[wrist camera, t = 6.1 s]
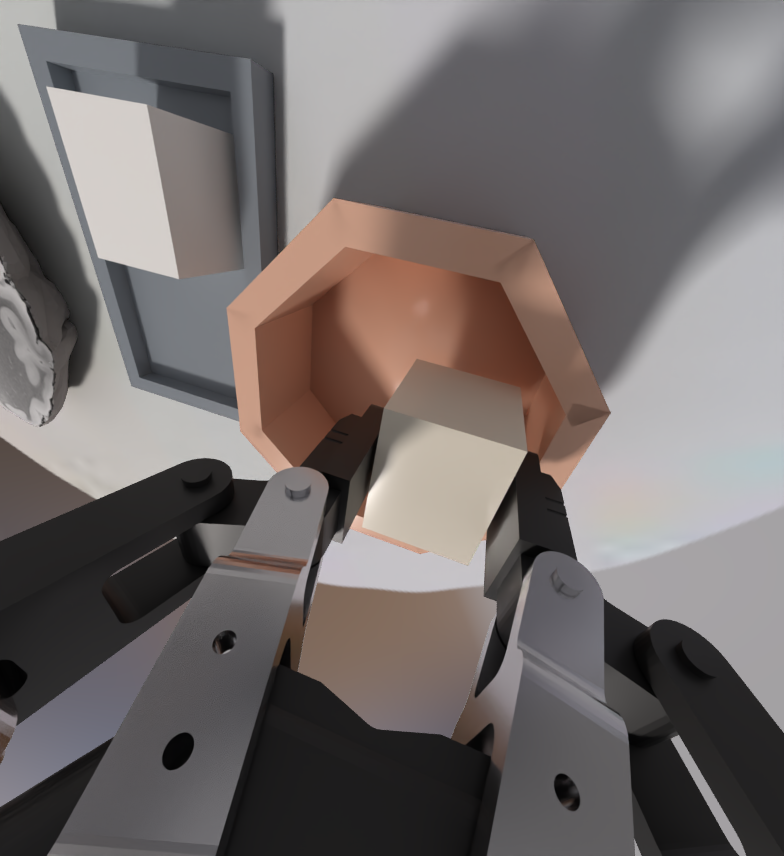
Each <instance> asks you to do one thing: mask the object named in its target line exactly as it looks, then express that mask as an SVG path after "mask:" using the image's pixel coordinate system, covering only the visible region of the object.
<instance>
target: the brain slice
mask: <svg viewBox="0 0 784 856" xmlns="http://www.w3.org/2000/svg"><path fill="white" fill-rule="evenodd" d="M69 315H70V312H69V309H68V307H67V304H66V302H65V300H64V298H63V296H62V295H61V293H60V292H59V291H58V289H57V288H56V286H55V285H54V283H52V282H51V281H49V280H48V279H46V278H45V277H44V274H43V272H42V270H41V268H40V265H39V263H38V262H37V260H36V259H35V257H34V256H33V254H32V253H31V251H30V250H29V248H28V245H27V244H26V243H25V241H24V240H23V239H22V237H21V235H20V233H19V232H18V230H17V228H16V226H15V225H14V224H13V223H12V222H10V221H9V219H8V217H7V216H6V214H5V212H4V210H3V208H2V206H1V203H0V406H2V407H3V408H4V409H6V410H8V411H9V412H11V413H12V414H14V415H16V416H17V417H19V418H20V419H22V420H24V421H25V422H27V423H29V424H31V425H34V426H36V427H41V426H43V425H45V424H48V423H49V422H51V421H52V420H53V419H54V418H55V417H56V415H57V414H58V413H59V411H60V410H61V408H62V407H63V404H64V401H65V399H66V395H67V391H68V386H67V385H68V378H69V375H68V365H69V356H70V354H71V352H72V350H73V347H74V345H75V343H76V341H77V334H78V333H77V330H76V328H75V326H74V325H73V324H72V323H71V322H70V321H68V320H66V319H67V318H69Z"/></svg>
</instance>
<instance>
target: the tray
mask: <svg viewBox="0 0 784 856" xmlns="http://www.w3.org/2000/svg"><path fill="white" fill-rule="evenodd" d="M18 27H19V31H20V34H21V37H22V40H23V43H24V46H25V50H26V53H27V56H28V59H29V62H30V66H31V69H32V72H33V75H34V78H35V81H36V85H37V88H38V91H39V94H40V97H41V100H42V104H43V107H44V110H45V113H46V116H47V119H48V123H49V126H50V129H51V132H52V135H53V138H54V142H55V145H56V148H57V151H58V154H59V157H60V161H61V164H62V167H63V170H64V173H65V176H66V180H67V183H68V186H69V189H70V192H71V195H72V199H73V202H74V205H75V208H76V211H77V215H78V218H79V221H80V224H81V227H82V230H83V234H84V237H85V240H86V243H87V246H88V249H89V253H90V256H91V259H92V262H93V265H94V268H95V272H96V275H97V278H98V281H99V284H100V287H101V291H102V294H103V297H104V300H105V303H106V306H107V310H108V313H109V316H110V319H111V322H112V325H113V329H114V332H115V335H116V338H117V341H118V344H119V348H120V351H121V354H122V357H123V360H124V364H125V367H126V370H127V373H128V376H129V379H130V383H131V386H133V387H136V388H139V389H142V390H145V391H148V392H151V393H154V394H157V395H160V396H163V397H166V398H169V399H172V400H175V401H178V402H181V403H184V404H188V405H191V406H194V407H197V408H200V409H203V410H206V411H209V412H212V413H215V414H218V415H221V416H224V417H227V418H230V419H233V420H236V421H239V413H238V404H237V395H236V387H235V378H234V369H233V360H232V352H231V343H230V334H229V325H228V317H227V309H226V308H227V307H228V306H229V305H230V304H231V303H232V302H233V301H234V300H235V299H236V298H237V297H238V296H239V295H240V294H241V293H242V292H243V291H244V290H245V289H246V288H247V286H248V285H249V284H250V283H251V282H252V281H253V280H254V279H255V278H256V277H257V276H258V275H259V274H260V273H261V272H262V271H263V270H264V269H265V268H266V267H267V266H268V265H269V264H270V263H271V262H272V261H273V260H274V259H275V258H276V257H277V256H278V244H277V205H276V166H275V126H274V87H273V74H272V73H271V72H269V71H268V70H266V69H265V68H263V67H262V66H260V65H259V64H257V63H256V62H255V61H253V60H252V59H249V58H242V57H236V56H229V55H222V54H215V53H209V52H202V51H195V50H189V49H182V48H175V47H169V46H162V45H155V44H148V43H142V42H135V41H128V40H122V39H115V38H108V37H102V36H95V35H88V34H81V33H75V32H68V31H61V30H55V29H48V28H41V27H35V26H28V25H21V24H18ZM46 86H47V87H53V88H58V89H64V90H69V91H75V92H80V93H86V94H91V95H97V96H102V97H108V98H114V99H119V100H125V101H130V102H136V103H141V104H147V105H150V106H153V107H155V108H158V109H161V110H164V111H167V112H170V113H172V114H175V115H178V116H181V117H184V118H187V119H190V120H192V121H195V122H198V123H201V124H204V125H207V126H210V127H212V128H215V129H218V130H221V131H224V132H227V133H230V134H232V135H234V146H235V159H236V171H237V184H238V197H239V209H240V222H241V235H242V247H243V260H244V269H241V270H235V271H228V272H222V273H216V274H209V275H203V276H197V277H190V278H184V279H176V278H173V277H169V276H165V275H161V274H157V273H154V272H150V271H146V270H142V269H139V268H135V267H131V266H127V265H124V264H120V263H116V262H112V261H109V260H105V259H101V258H98V255H97V252H96V249H95V245H94V242H93V239H92V236H91V232H90V229H89V226H88V222H87V219H86V216H85V213H84V209H83V206H82V203H81V199H80V196H79V193H78V190H77V186H76V183H75V180H74V176H73V173H72V170H71V167H70V163H69V160H68V157H67V153H66V150H65V147H64V144H63V140H62V137H61V134H60V130H59V127H58V124H57V121H56V117H55V114H54V111H53V108H52V104H51V101H50V98H49V94H48V91H47V88H46Z"/></svg>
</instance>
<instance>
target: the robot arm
mask: <svg viewBox="0 0 784 856" xmlns="http://www.w3.org/2000/svg"><path fill="white" fill-rule="evenodd" d="M383 410H384V407H380V406H377V405H374V404H371V405H370V406H369V408H368V409H367V410H366V412H365V413H364V414H363V416H362V417H360V416H357V415H354V414H350V415H348V416H346V417H344V418H342V419H340V420H338V422H337V423H336V424H335V425H334V426H333V428H332V429H331V431H329V432H328V433H327V435H326V436H325V438H324V439H322V440H321V442H320V443H319V444H318V445H317V446H316V448H315V449H314V450H313V451H312V452H311V453H310V455H309V456H308V457H307V458H306V459H305V461H304V462H303V463H302V464H301V465H300V466H299V467H291V468H287V469H284V470H282V471H280V472H278V473H276V474H275V475H274V476H272V478H271V479H270V480H269V481H257V480H244V479H233V476H232V471H231V469H230V467H229V466H228V465H227V464H226V463H224V462H222V461H220V460H216V459H210V458H202V459H194V460H190V461H186V462H184V463H181V464H179V465H176V466H174V467H172V468H169V469H167V470H165V471H162V472H160V473H158V474H155V475H153V476H151V477H148V478H146V479H144V480H141V481H139V482H137V483H134V484H132V485H130V486H127V487H125V488H123V489H121V490H118V491H116V492H114V493H111V494H109V495H107V496H104V497H102V498H100V499H97V500H95V501H93V502H90V503H88V504H86V505H84V506H81V507H79V508H76V509H74V510H72V511H70V512H67V513H65V514H63V515H60V516H58V517H56V518H53V519H51V520H49V521H46V522H44V523H42V524H39V525H37V526H35V527H32V528H30V529H28V530H26V531H23V532H21V533H18V534H16V535H14V536H12V537H9V538H7V539H4V540H2V541H0V764H1V762H2V760H3V758H4V755H5V749H6V747H7V745H8V743H9V742H10V740H11V738H12V735H13V733H14V730H15V727H16V726H17V725H18V724H20V723H21V722H22V721H24V720H25V719H26V718H28V717H29V716H30V715H32V714H33V713H35V712H36V711H37V710H39V709H40V708H41V707H43V706H44V705H46V704H47V703H48V702H49V701H51V700H52V699H54V698H55V697H56V696H58V695H59V694H61V693H62V692H63V691H65V690H66V689H67V688H69V687H70V686H72V685H73V684H74V683H75V682H77V681H78V680H80V679H81V678H82V677H84V676H85V675H87V674H88V673H89V672H91V671H92V670H93V669H95V668H96V667H97V666H99V665H100V664H102V663H103V662H104V661H106V660H107V659H108V658H110V657H111V656H112V655H114V654H115V653H117V652H118V651H119V650H120V649H122V648H123V647H125V646H126V645H127V644H129V643H130V642H132V641H133V640H134V639H136V638H137V637H138V636H140V635H141V634H142V633H144V632H145V631H147V630H148V629H149V628H151V627H152V626H154V625H155V624H156V623H158V622H159V621H160V620H162V619H163V618H164V617H165V616H167V615H169V614H170V613H171V612H173V611H174V610H175V609H177V608H178V607H179V606H181V605H182V604H184V603H185V602H186V601H188V600H189V599H190V598H192V599H191V600H190V602H189V604H188V606H187V607H186V609H185V611H184V613H183V614H182V616H181V618H180V620H179V622H178V624H177V625H176V627H175V629H174V631H173V633H172V634H171V636H170V638H169V640H168V641H167V643H166V645H165V647H164V649H163V650H162V652H161V654H160V656H159V658H158V659H157V661H156V663H155V665H154V667H153V668H152V670H151V672H150V674H149V675H148V677H147V679H146V681H145V683H144V685H143V686H142V688H141V690H140V692H139V694H138V695H137V697H136V699H135V701H134V702H133V704H132V706H131V708H130V710H129V711H128V713H127V715H126V717H125V719H124V721H123V722H122V724H121V726H120V728H119V729H118V731H117V733H116V735H115V736H114V737H113V738H111V739H110V740H108V741H106V742H105V743H103V744H101V745H100V746H98V747H97V748H95V749H93V750H92V751H90V752H89V753H87V754H85V755H84V756H82V757H80V758H79V759H77V760H76V761H74V762H72V763H71V764H69V765H67V766H66V767H64V768H63V769H61V770H59V771H58V772H56V773H55V774H53V775H51V776H50V777H48V778H46V779H45V780H43V781H42V782H40V783H38V784H37V785H35V786H34V787H32V788H30V789H29V790H27V791H26V792H24V793H22V794H21V795H19V796H17V797H16V798H14V799H13V800H11V801H9V802H8V803H6V804H5V805H3V806H1V807H0V856H635V846H634V839H635V841H636V843H637V846H638V848H639V850H640V853H641V855H642V856H739V855H738V854H737V853H736V851H735V850H734V849H733V847H732V846H731V845H730V843H729V842H728V840H727V838H726V836H725V835H724V833H723V831H722V830H721V828H720V826H719V824H718V822H717V821H716V819H715V817H714V815H713V814H712V812H711V810H710V808H709V806H708V805H707V803H706V801H705V800H704V798H703V796H702V794H701V792H700V790H699V789H698V787H697V785H696V784H695V782H694V780H693V778H692V776H691V775H690V773H689V771H688V769H687V767H686V766H685V764H684V762H683V760H682V759H681V757H680V755H679V753H678V751H677V750H676V748H675V746H674V745H673V743H672V741H671V738H673V737H675V736H677V735H679V736H680V737H681V739H682V741H683V742H684V744H685V746H686V747H687V749H688V751H689V753H690V754H691V756H692V758H693V760H694V761H695V763H696V765H697V766H698V768H699V770H700V771H701V773H702V775H703V777H704V779H705V780H706V782H707V783H708V785H709V787H710V788H711V790H712V792H713V794H714V796H715V797H716V799H717V801H718V802H719V804H720V806H721V808H722V809H723V811H724V813H725V814H726V816H727V818H728V819H729V821H730V823H731V825H732V826H733V828H734V830H735V831H736V833H737V835H738V837H739V839H740V841H741V843H742V845H743V848H744V850H745V853H746V856H784V733H783V732H782V730H781V729H780V728H779V726H778V725H777V724H776V723H775V721H774V720H773V719H772V718H771V716H770V715H769V714H768V712H767V711H766V710H765V709H764V707H763V706H762V705H761V703H760V702H759V701H758V700H757V698H756V697H755V696H754V695H753V693H752V692H751V691H750V689H749V688H748V687H747V686H746V684H745V683H744V682H743V681H742V679H741V678H740V677H739V676H738V674H737V673H736V672H735V670H734V669H733V668H732V667H731V665H730V664H729V663H728V661H727V660H726V659H725V658H724V657H723V656H722V654H721V653H720V652H719V651H718V650H717V649H716V648H715V647H714V646H713V645H712V644H711V643H710V642H709V641H707V640H706V639H705V638H704V637H702V636H701V635H700V634H699V633H697V632H695V631H694V630H692V629H691V628H689V627H687V626H685V625H683V624H681V623H678V622H676V621H672V620H659V621H656V622H655V623H653V624H652V625H651V626H650V627H647V626H645V625H643V624H642V623H640V622H639V621H637V620H635V619H634V618H632V617H630V616H629V615H627V614H626V613H624V612H623V611H621V610H619V609H618V608H616V607H615V606H613V605H612V604H610V603H609V602H607V601H606V600H605V599H604V598H603V593H602V590H601V588H600V586H599V584H598V582H597V581H596V579H595V578H594V576H593V575H592V574H591V573H590V572H589V571H588V569H587V568H585V567H584V566H583V565H582V564H581V563H579V562H578V561H577V557H576V553H575V548H574V544H573V540H572V535H571V531H570V526H569V522H568V518H567V517H566V515H567V513H566V509H565V506H564V500H563V496H562V492H561V489H560V487H559V486H558V484H557V483H556V482H555V480H554V479H553V477H552V476H551V475H549V474H545V473H542V472H541V469H540V462H539V457H538V454H537V453H533V452H530V451H527V454H526V456H525V458H524V460H523V461H522V463H521V465H520V467H519V469H518V471H517V473H516V475H515V477H514V479H513V481H512V483H511V485H510V486H509V488H508V490H507V492H506V494H505V496H504V498H503V500H502V502H501V504H500V506H499V508H498V510H497V511H496V513H495V515H494V517H493V519H492V521H491V523H490V525H489V527H488V529H487V535H486V556H485V577H484V597H487V598H489V599H492V600H495V601H497V614H496V615H495V617H494V618H493V620H492V621H491V623H490V626H489V629H488V633H487V636H486V639H485V643H484V646H483V649H482V653H481V656H480V659H479V663H478V666H477V669H476V673H475V677H474V679H473V683H472V686H471V690H470V693H469V696H468V699H467V702H466V705H465V707H464V709H463V711H462V713H461V715H460V718H459V719H458V722H457V724H456V726H455V729H454V731H453V734H452V736H451V739H450V738H447V737H445V736H443V735H439V734H427V733H414V732H401V731H389V730H379V729H375V728H373V727H371V726H370V725H368V724H367V723H366V722H365V721H364V720H363V719H362V718H361V717H359V716H358V715H357V714H356V713H355V712H354V711H353V710H352V709H350V708H349V707H348V706H347V705H346V704H345V703H344V702H343V701H341V700H340V699H339V698H338V697H337V696H336V695H335V694H334V693H332V692H331V691H330V690H329V689H328V688H327V687H326V686H324V685H323V684H322V683H321V682H319V681H317V680H315V679H312V678H310V677H308V676H305V675H303V674H301V673H299V672H298V668H299V663H300V657H301V652H302V646H303V640H304V635H305V630H306V626H307V622H308V618H309V614H310V610H311V605H312V601H313V597H314V593H315V589H316V584H317V581H318V577H319V573H320V569H321V565H322V560H323V555H324V553H325V551H326V550H327V548H328V546H329V544H330V542H331V540H333V541H336V542H339V543H341V544H342V542H343V540H344V538H345V536H346V534H347V532H348V531H349V529H350V527H351V525H352V523H353V521H354V519H355V517H356V515H357V513H358V511H359V509H360V507H361V505H362V503H363V501H364V499H365V497H366V495H367V493H368V491H369V486H370V481H371V475H372V470H373V465H374V459H375V454H376V448H377V443H378V437H379V432H380V426H381V421H382V416H383ZM174 537H177V539H175V540H173V541H172V542H170V543H168V544H166V545H165V546H163V547H161V548H160V549H158V550H156V551H154V552H153V553H151V554H149V555H148V556H146V557H144V558H142V559H141V560H139V561H137V562H136V563H134V564H132V565H131V566H129V567H127V568H125V569H124V570H122V571H120V572H119V573H117V574H115V575H113V576H111V575H112V574H113V573H115V572H116V571H117V570H119V569H121V568H122V567H124V566H126V565H128V564H129V563H131V562H133V561H134V560H136V559H138V558H139V557H141V556H143V555H145V554H147V553H148V552H150V551H152V550H153V549H155V548H157V547H159V546H160V545H162V544H164V543H166V542H167V541H169V540H171V539H172V538H174ZM110 576H111V577H110Z"/></svg>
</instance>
